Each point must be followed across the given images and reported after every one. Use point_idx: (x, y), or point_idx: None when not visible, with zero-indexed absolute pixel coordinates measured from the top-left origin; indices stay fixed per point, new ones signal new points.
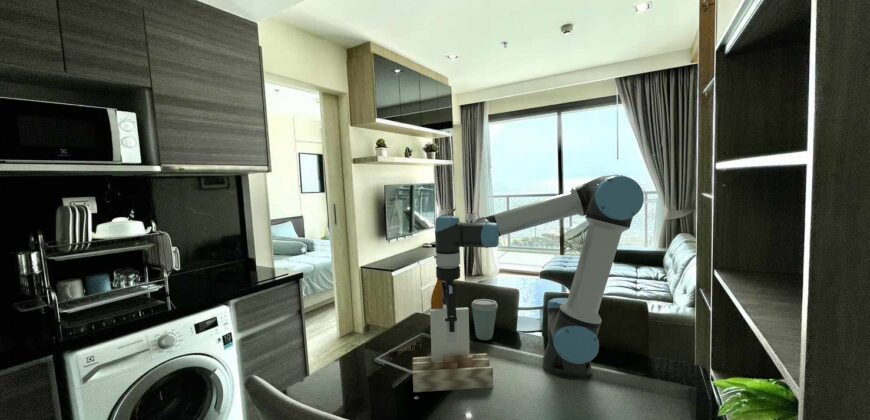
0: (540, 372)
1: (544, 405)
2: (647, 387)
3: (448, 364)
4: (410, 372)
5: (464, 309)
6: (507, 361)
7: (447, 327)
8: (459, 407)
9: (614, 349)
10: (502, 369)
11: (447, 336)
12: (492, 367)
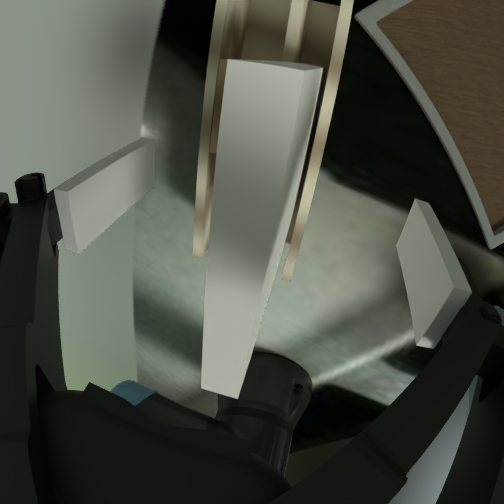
0: (264, 342)
1: (151, 284)
2: (188, 406)
3: (217, 118)
4: (375, 5)
5: (202, 371)
6: (340, 314)
7: (87, 170)
8: (161, 112)
9: (294, 442)
10: (307, 286)
11: (123, 148)
12: (194, 255)
